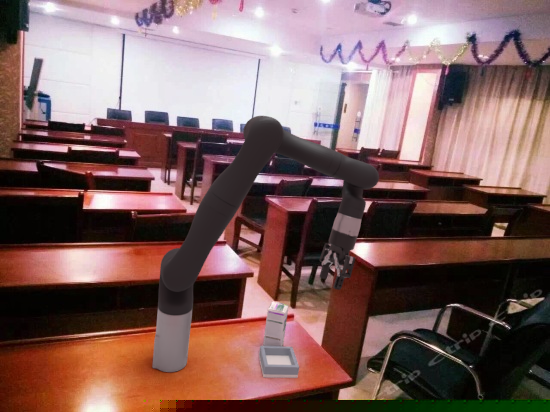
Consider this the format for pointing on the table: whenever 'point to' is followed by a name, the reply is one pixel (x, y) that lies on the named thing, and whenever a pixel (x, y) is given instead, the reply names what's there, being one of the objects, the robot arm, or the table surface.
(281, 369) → the collar plate
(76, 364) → the table surface
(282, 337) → the syrup box
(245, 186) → the robot arm
